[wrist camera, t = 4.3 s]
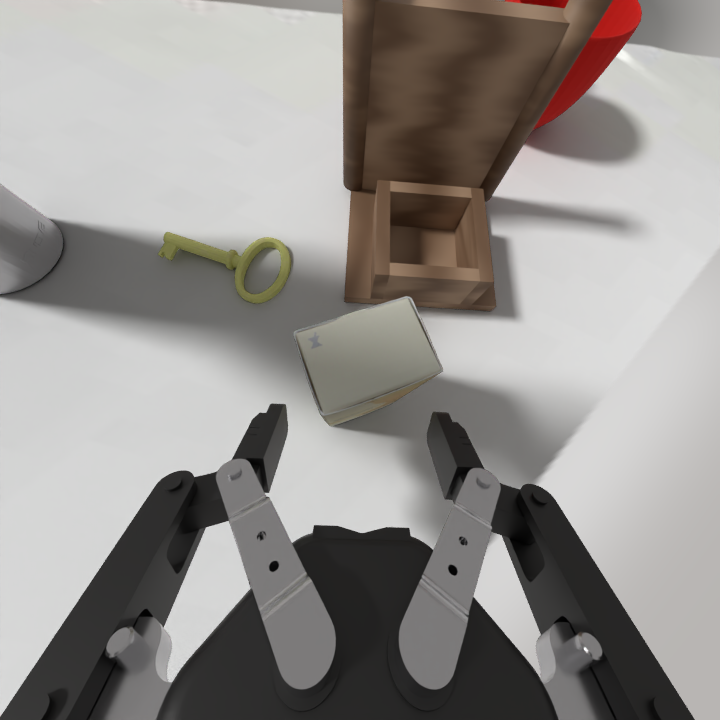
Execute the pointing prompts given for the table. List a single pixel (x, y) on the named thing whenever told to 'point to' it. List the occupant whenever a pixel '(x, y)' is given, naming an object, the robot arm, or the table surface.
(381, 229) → the headboard stand
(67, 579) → the table surface
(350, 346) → the skincare box
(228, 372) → the table surface
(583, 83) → the ceramic cup
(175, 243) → the key
